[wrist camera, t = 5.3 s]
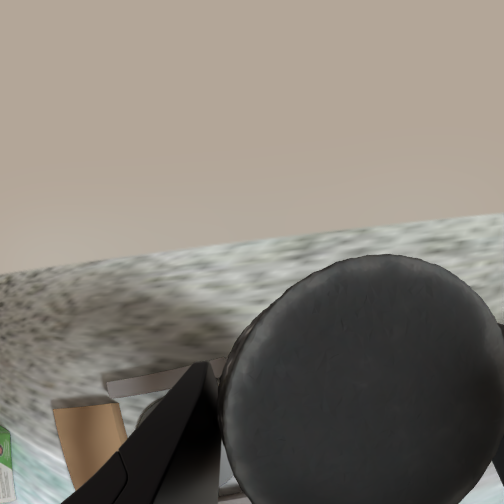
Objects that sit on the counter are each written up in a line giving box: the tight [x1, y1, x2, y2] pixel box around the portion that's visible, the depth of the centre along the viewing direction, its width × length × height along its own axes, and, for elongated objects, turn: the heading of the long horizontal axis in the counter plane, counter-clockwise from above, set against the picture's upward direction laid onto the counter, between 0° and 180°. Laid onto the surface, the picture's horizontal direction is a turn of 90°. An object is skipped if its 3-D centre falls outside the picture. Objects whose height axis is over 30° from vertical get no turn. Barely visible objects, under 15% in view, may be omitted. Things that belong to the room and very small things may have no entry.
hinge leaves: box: [53, 357, 252, 504], centre depth 17 cm, size 21×11×1 cm, turn 106°
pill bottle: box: [216, 254, 504, 504], centre depth 8 cm, size 6×6×11 cm
